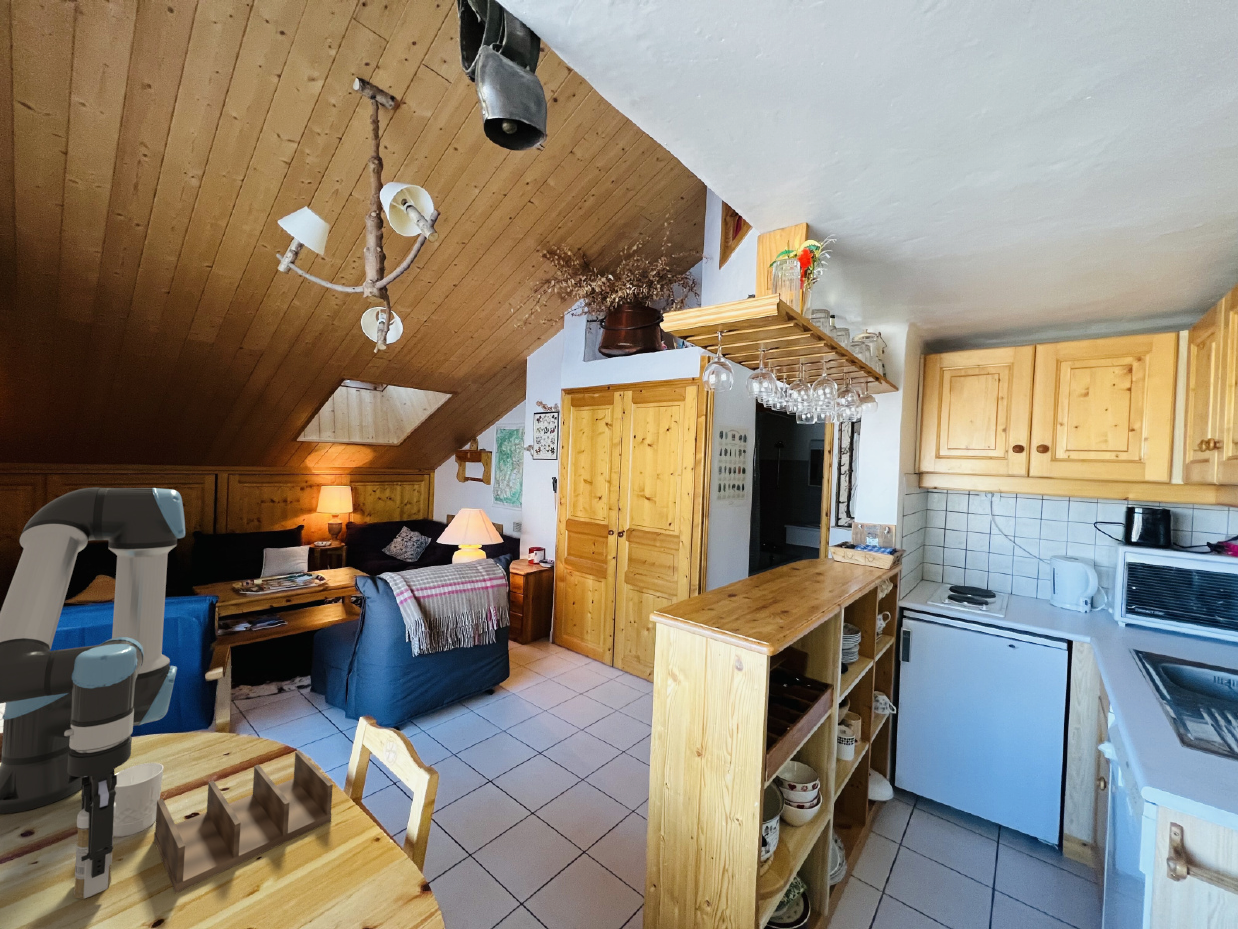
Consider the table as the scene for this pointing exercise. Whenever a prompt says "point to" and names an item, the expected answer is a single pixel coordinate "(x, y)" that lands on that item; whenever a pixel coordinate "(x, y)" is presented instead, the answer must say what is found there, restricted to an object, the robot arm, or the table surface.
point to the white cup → (136, 798)
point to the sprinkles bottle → (84, 853)
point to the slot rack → (242, 824)
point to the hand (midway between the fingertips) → (92, 879)
